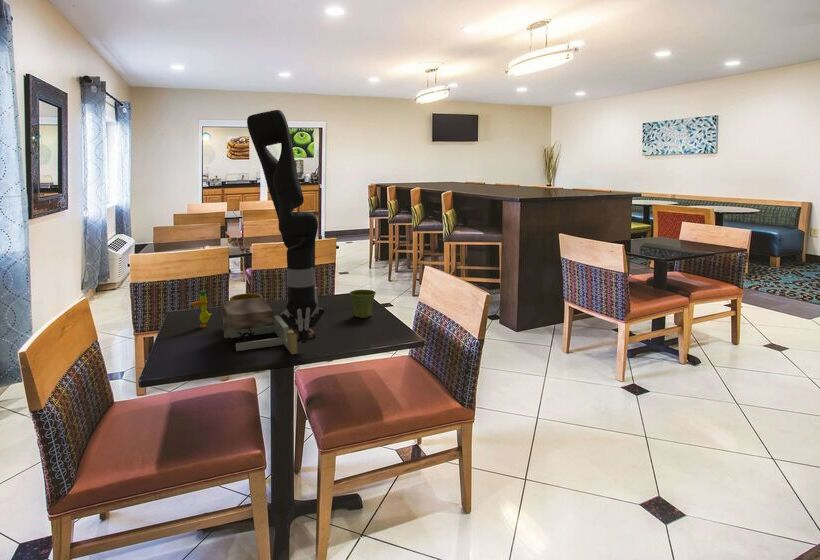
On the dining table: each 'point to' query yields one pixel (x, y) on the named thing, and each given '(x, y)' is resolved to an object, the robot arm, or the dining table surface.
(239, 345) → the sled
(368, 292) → the plant pot
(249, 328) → the creature
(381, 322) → the dining table surface
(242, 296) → the plant pot
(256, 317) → the tunnel
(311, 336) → the brown tray
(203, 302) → the toy figure
